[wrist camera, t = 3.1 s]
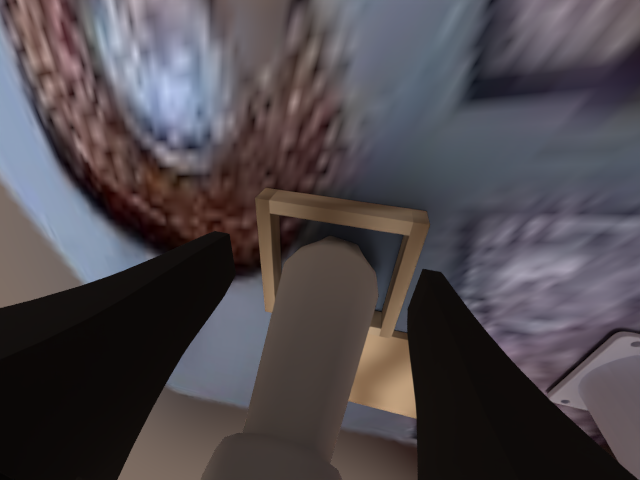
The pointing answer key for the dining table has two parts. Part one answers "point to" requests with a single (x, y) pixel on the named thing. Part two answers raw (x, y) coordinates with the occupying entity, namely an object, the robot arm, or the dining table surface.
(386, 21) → the dining table surface
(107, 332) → the robot arm
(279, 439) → the beige bowling pin
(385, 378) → the cork mat
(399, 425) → the dining table surface
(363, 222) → the birch collar
